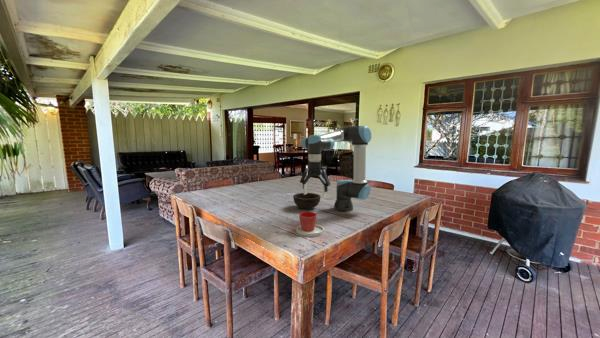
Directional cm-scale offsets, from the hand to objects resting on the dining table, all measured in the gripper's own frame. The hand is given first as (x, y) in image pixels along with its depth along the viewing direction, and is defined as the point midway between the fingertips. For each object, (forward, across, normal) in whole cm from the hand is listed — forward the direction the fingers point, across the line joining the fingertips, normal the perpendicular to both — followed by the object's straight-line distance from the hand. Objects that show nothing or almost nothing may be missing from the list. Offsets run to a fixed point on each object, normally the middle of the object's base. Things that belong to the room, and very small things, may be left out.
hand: (314, 195), depth 159 cm
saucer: (+21, 0, -5) cm, 22 cm away
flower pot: (+21, -2, -4) cm, 22 cm away
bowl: (+22, -29, +36) cm, 52 cm away
